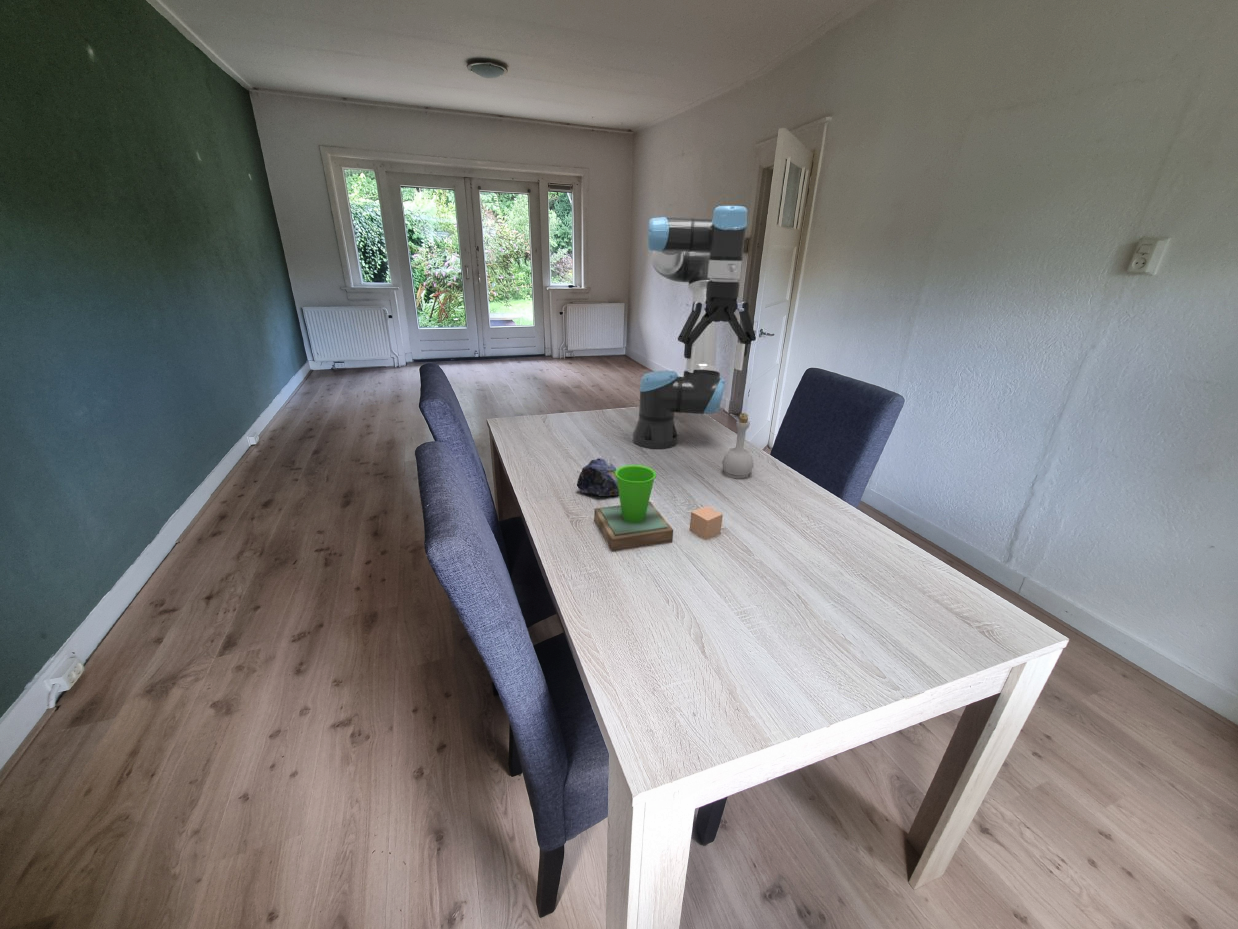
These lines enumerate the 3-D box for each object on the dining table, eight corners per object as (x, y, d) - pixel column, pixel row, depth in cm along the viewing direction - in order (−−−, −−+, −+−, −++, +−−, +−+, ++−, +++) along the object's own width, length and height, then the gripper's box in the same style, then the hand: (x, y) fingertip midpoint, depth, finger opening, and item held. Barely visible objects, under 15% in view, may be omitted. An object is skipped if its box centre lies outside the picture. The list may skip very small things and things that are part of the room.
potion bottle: (749, 468, 147) (757, 410, 140) (753, 481, 139) (762, 420, 132) (719, 466, 148) (726, 409, 141) (722, 479, 140) (729, 418, 133)
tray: (594, 519, 117) (594, 507, 115) (649, 512, 121) (650, 499, 120) (611, 551, 105) (612, 537, 103) (672, 541, 109) (673, 528, 107)
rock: (569, 486, 127) (586, 451, 126) (587, 489, 136) (603, 457, 136) (602, 505, 123) (620, 469, 122) (619, 507, 132) (635, 474, 131)
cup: (650, 529, 107) (653, 483, 102) (609, 524, 108) (610, 478, 104) (656, 510, 115) (659, 467, 110) (618, 505, 116) (619, 462, 112)
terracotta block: (689, 530, 114) (691, 511, 112) (704, 524, 116) (706, 505, 114) (705, 540, 110) (707, 520, 108) (720, 533, 113) (722, 514, 111)
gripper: (681, 280, 108) (674, 376, 117) (778, 281, 116) (765, 371, 124) (668, 278, 115) (662, 369, 123) (760, 280, 122) (749, 365, 131)
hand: (714, 370), depth 124 cm, fingers open, 13 cm apart
